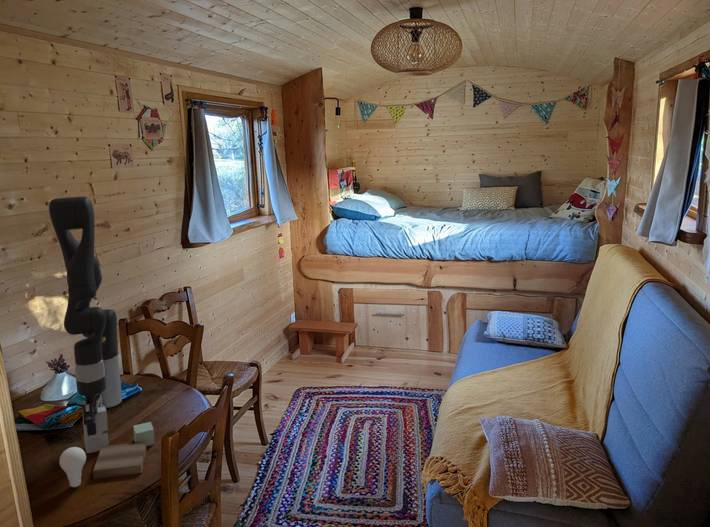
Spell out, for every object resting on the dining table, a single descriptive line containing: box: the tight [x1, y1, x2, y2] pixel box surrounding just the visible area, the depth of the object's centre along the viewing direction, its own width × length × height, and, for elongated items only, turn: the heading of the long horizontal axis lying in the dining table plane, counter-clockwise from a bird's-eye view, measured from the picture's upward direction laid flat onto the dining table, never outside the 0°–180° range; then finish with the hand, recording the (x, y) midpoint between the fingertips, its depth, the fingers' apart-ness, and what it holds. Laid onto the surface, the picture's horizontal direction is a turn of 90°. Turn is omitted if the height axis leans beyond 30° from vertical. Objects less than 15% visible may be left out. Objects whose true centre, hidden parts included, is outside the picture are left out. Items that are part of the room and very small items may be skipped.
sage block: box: [132, 421, 155, 447], centre depth 161 cm, size 5×5×5 cm
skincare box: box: [82, 405, 109, 454], centre depth 157 cm, size 6×4×12 cm
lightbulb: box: [58, 446, 87, 488], centre depth 139 cm, size 6×6×11 cm
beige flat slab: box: [92, 442, 148, 480], centre depth 151 cm, size 12×12×3 cm
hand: (95, 427), depth 156 cm, fingers open, 8 cm apart
